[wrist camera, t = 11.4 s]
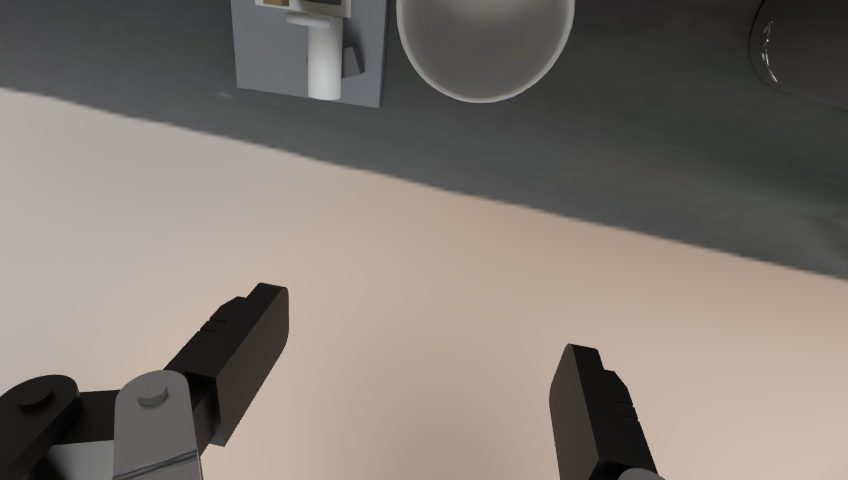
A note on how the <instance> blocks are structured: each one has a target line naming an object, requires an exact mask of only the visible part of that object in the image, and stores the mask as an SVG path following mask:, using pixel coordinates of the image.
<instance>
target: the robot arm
mask: <svg viewBox="0 0 848 480" xmlns="http://www.w3.org/2000/svg"><path fill="white" fill-rule="evenodd" d="M750 55H751V59H752V64H753V66H754V68H755V70H756V72H757V74H758V75H759V77H760V78H761V79H762V80H763V81H764V82H765V83H766V84H768V85H770V86H772V87H773V88H775V89H777V90H780V91H784V92H787V93H791V94H795V95H798V96H802V97H805V98H809V99H812V100H815V101H818V102H822V103H826V104H829V105H833V106H837V107H840V108H844V109H847V110H848V0H765V2H764V3H763V5H762V7H761V8H760V10H759V12H758V15H757V17H756V19H755V22H754V24H753V28H752V33H751V37H750ZM288 333H289V297H288V290H287V288H286V287H281V286H276V285H271V284H265V283H259V284H258V285H257V286H256V287H255V288H254V289H253V290H252V292H251V293H250V294H249V295H248V296H247V298H244V297H238V296H237V297H236V298H234V299H232V300H230V301H228V302H227V303H225V304H223V305H221V306H220V307H219V308H218V310H217V311H216V312H215V313H214V314H213V315H212V316H211V317H210V320H209V321H207V322H206V323H205V324H204V325H203V326H202V327H201V329H200V331H198V332H197V333H196V334H195V335H194V336H193V337H192V338H191V339H190V340H189V342H188V343H187V344H186V345H185V346H184V347H183V348H182V349H181V350H180V351H179V353H178V354H177V355H176V356H175V357H174V358H173V359H172V360H171V362H169V364H168V365H167V366H166V367H165V368H164V369H163V370H158V371H152V372H149V373H146V374H143V375H140V376H138V377H136V378H135V379H133V380H132V381H130V382H129V383H127V384H126V385H125V386H124V387H123V388H122V389H121V390H109V391H94V392H79V390H78V387H77V384H76V382H75V381H74V380H73V379H72V378H70V377H67V376H64V375H46V376H41V377H36V378H34V379H30V380H27V381H25V382H23V383H21V384H18V385H17V386H15V387H13V388H12V389H10V390H8V391H7V392H6V393H4V394H3V395H2V396H1V397H0V480H203V474H202V466H201V459H200V456H201V455H202V453H203V452H204V450H205V449H206V447H207V446H208V444H214V445H218V446H223V447H225V445H226V443H227V442H228V440H229V438H230V437H231V435H232V433H233V432H234V430H235V428H236V427H237V425H238V424H239V422H240V420H241V418H242V417H243V415H244V414H245V412H246V410H247V409H248V407H249V405H250V404H251V402H252V400H253V399H254V397H255V396H256V394H257V392H258V391H259V389H260V387H261V386H262V384H263V382H264V381H265V379H266V377H267V376H268V374H269V372H270V370H271V369H272V368H273V366H274V364H275V363H276V361H277V359H278V358H279V356H280V354H281V353H282V351H283V349H284V347H285V345H286V342H287V338H288ZM549 406H550V413H551V420H552V425H553V432H554V440H555V447H556V453H557V460H558V467H559V474H560V480H665V479H664V478H662V477H661V476H659V475H658V472H657V470H656V467H655V464H654V461H653V459H652V456H651V453H650V450H649V447H648V445H647V442H646V439H645V436H644V433H643V431H642V428H641V425H640V422H638V417H637V414H636V411H635V408H634V407H633V403H632V400H631V397H630V395H629V391H628V389H627V387H626V386H625V384H624V383H623V382H622V381H621V379H620V378H619V377H618V376H617V374H616V373H615V372H614V371H609V370H604V368H603V365H602V362H601V358H600V355H599V353H598V350H597V349H595V348H590V347H585V346H579V345H574V344H568V345H567V346H566V347H565V350H564V352H563V355H562V357H561V360H560V363H559V365H558V368H557V370H556V373H555V376H554V378H553V381H552V384H551V388H550V396H549Z"/></svg>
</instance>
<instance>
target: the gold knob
mask: <svg viewBox="0 0 848 480" xmlns="http://www.w3.org/2000/svg"><path fill="white" fill-rule="evenodd" d="M263 4H270V5H277V6H289V0H263Z"/></svg>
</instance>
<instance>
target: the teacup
mask: <svg viewBox="0 0 848 480" xmlns="http://www.w3.org/2000/svg"><path fill="white" fill-rule="evenodd" d="M574 11H575V0H396V13H397V24H398V29H399V34H400V39H401V42H402V45H403V48H404V50H405V52H406V54H407V56H408V58H409V60H410V62H411V63H412V65H413V67H414V68H415V70H416V71H417V72H418V74H419V75H420V76H421V77H422V78H423V79H424V80H425V81H426V82H427V83H429V84H430V85H431V86H432V87H434V88H435V89H437V90H438V91H440V92H442V93H444V94H445V95H448V96H450V97H452V98H455V99H458V100H461V101H466V102H473V103H489V102H497V101H499V100H505V99H507V98H510V97H514V96H516V95H517V94H519V93H521V92H523V91H524V90H526V89H527V88H529V87H531V86H532V85H533V84H535V83H536V82H537V81H538V80H539V79H541V78H542V77H543V76H544V75H545V74H546V73H547V72H548V71H549V70H550V68H551V67H552V66H553V64H554V63H555V61H556V59H557V58H558V56H559V55H560V53H561V52H562V50H563V48H564V46H565V44H566V41H567V39H568V36H569V33H570V30H571V28H572V23H573V19H574Z"/></svg>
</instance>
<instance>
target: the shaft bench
mask: <svg viewBox="0 0 848 480" xmlns="http://www.w3.org/2000/svg"><path fill="white" fill-rule="evenodd" d="M231 9H232V22H233V36H234V49H235V62H236V75H237V87H239V88H246V89H252V90H259V91H266V92H273V93H279V94H286V95H293V96H300V97H307V98H313V99H320V100H327V101H334V102H340V103H347V104H354V105H361V106H367V107H374V108H379V107H381V106H382V94H383V80H384V67H385V53H386V39H387V25H388V12H389V0H289V6H277V5H270V4H263V0H231Z"/></svg>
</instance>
